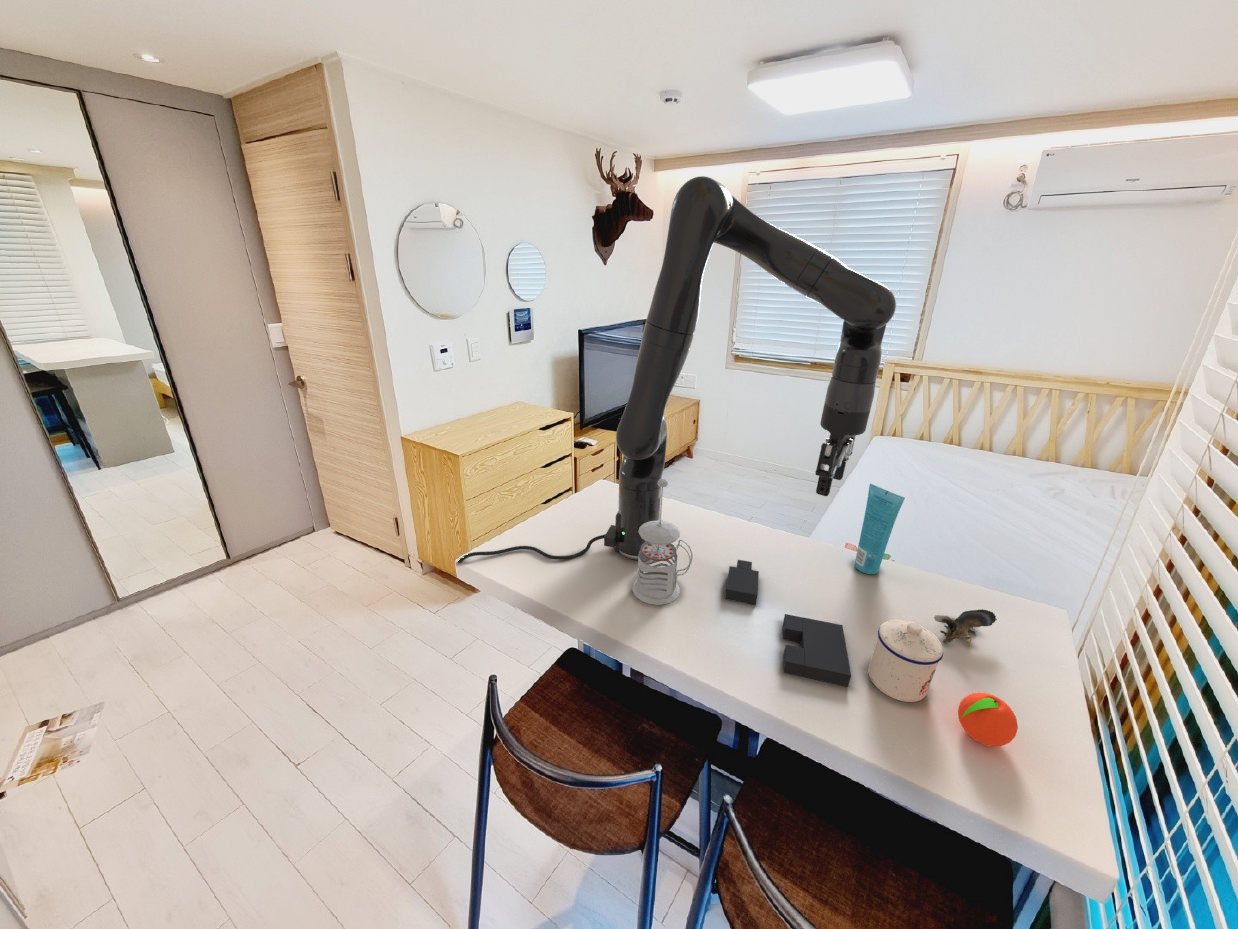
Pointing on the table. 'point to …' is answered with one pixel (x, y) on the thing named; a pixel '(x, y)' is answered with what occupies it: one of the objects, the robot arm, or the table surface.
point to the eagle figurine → (965, 624)
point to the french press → (658, 580)
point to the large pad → (816, 650)
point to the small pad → (742, 583)
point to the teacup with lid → (904, 660)
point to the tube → (876, 528)
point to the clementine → (987, 719)
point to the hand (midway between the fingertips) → (829, 486)
